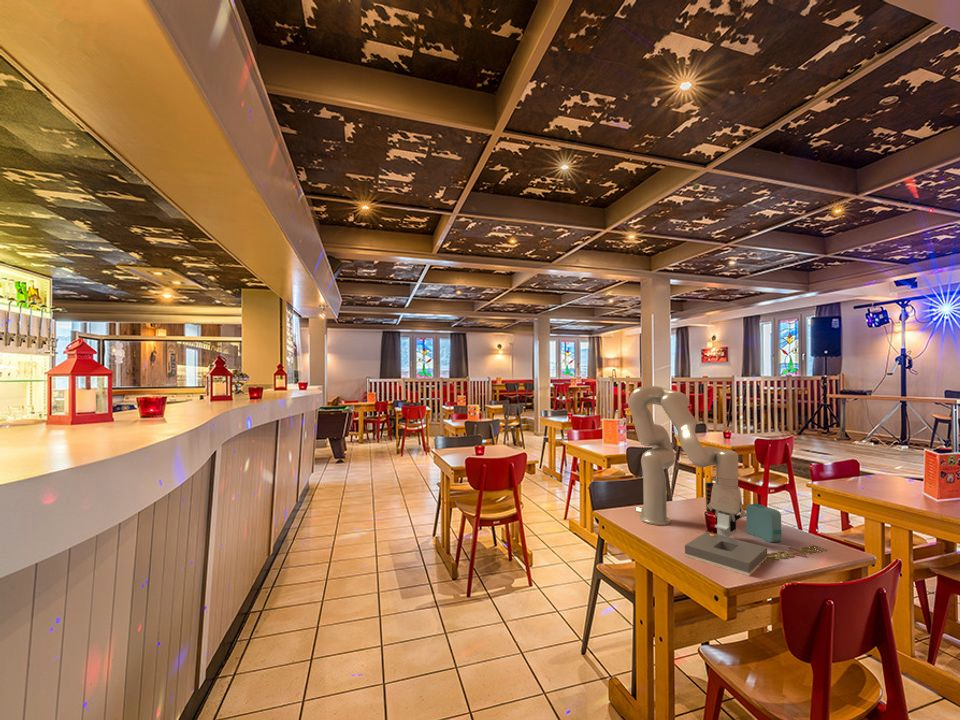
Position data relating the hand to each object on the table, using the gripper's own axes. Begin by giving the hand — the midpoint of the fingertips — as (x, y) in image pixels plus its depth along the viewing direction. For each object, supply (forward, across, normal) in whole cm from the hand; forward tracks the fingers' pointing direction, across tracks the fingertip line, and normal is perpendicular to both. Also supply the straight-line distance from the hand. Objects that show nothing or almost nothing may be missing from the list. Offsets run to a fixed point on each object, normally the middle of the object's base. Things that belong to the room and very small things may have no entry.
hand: (725, 528), depth 167 cm
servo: (+2, 0, 0) cm, 2 cm away
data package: (+5, +9, +15) cm, 18 cm away
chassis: (+4, +6, -18) cm, 19 cm away
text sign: (+5, +19, 0) cm, 20 cm away
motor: (+5, -11, +23) cm, 26 cm away
